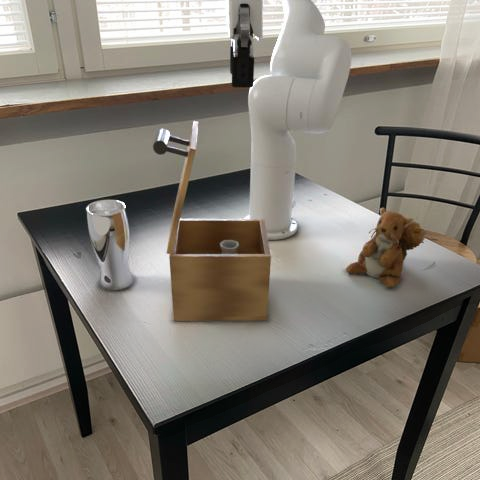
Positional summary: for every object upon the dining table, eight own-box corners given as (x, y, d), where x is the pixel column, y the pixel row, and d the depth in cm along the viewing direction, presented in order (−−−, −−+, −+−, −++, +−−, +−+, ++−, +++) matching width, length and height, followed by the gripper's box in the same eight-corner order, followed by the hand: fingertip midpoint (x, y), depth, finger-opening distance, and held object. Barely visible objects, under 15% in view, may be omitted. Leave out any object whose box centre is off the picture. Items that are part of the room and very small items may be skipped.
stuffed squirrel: (342, 273, 98) (352, 211, 90) (380, 250, 106) (392, 190, 98) (386, 293, 92) (402, 228, 85) (423, 267, 101) (440, 205, 93)
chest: (260, 278, 96) (264, 218, 89) (266, 320, 85) (271, 256, 77) (178, 278, 95) (174, 218, 88) (173, 321, 84) (169, 256, 77)
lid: (198, 122, 78) (162, 111, 77) (195, 149, 67) (153, 138, 66) (177, 216, 88) (144, 208, 86) (171, 254, 76) (133, 246, 75)
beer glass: (100, 272, 96) (88, 199, 87) (136, 272, 97) (128, 198, 88) (95, 292, 91) (81, 216, 82) (133, 291, 91) (124, 215, 82)
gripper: (277, -57, 61) (269, 93, 71) (266, -55, 75) (260, 70, 85) (216, -59, 61) (217, 92, 71) (216, -57, 75) (216, 69, 85)
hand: (241, 80), depth 78 cm, fingers open, 9 cm apart
